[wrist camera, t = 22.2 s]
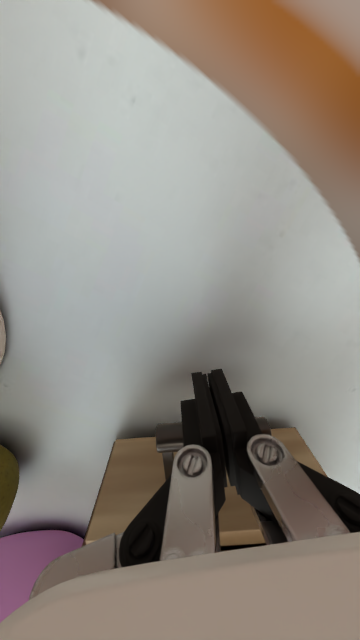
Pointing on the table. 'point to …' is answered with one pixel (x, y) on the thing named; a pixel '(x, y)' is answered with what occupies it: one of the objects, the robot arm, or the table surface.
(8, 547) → the teapot
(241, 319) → the table surface
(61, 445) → the table surface
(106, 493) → the drawer
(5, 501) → the apple
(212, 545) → the robot arm
